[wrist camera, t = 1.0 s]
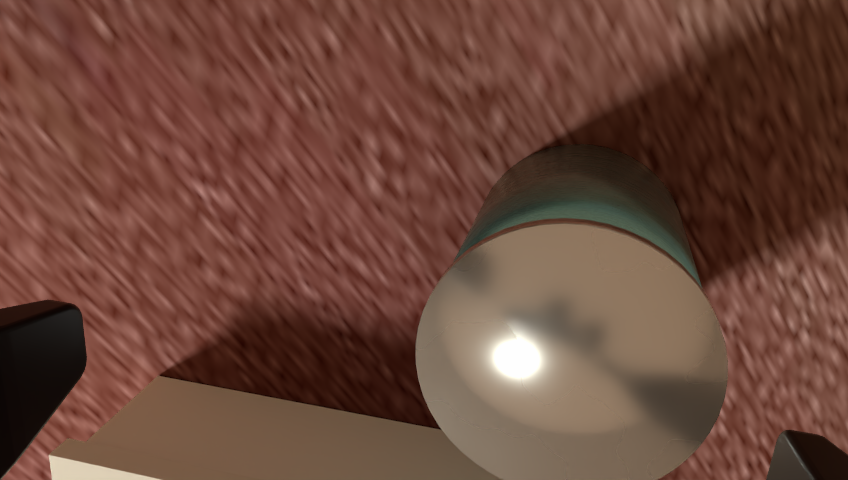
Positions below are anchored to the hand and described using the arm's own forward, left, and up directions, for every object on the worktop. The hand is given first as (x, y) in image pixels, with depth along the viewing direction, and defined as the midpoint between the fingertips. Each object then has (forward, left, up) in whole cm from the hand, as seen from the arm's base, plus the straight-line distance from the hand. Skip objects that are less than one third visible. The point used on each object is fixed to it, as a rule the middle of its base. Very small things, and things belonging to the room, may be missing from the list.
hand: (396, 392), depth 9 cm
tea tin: (-2, +2, -12) cm, 12 cm away
